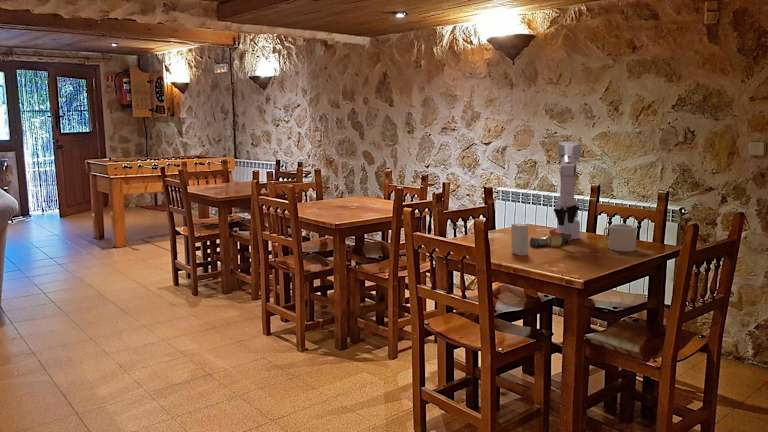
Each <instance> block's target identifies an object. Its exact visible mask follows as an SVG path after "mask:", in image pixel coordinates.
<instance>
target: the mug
mask: <svg viewBox="0 0 768 432" xmlns="http://www.w3.org/2000/svg"><path fill="white" fill-rule="evenodd" d="M606 230H608V241H607V240H606ZM637 231H638V227H637V225H636V226H635V225H633V224H626V223H614V224H610V225H609V226H608V227H604V228H603V238H602V241H603V242H604V243H606V244H608V247H607V248H608V249H609V250H611V251H614V250H615V252H622V253H623V252H624V253H625V252H627V253H630V252H634V251H635V250H636V247H637V246H636V244H637Z"/></svg>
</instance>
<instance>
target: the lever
mask: <svg viewBox="0 0 768 432" xmlns="http://www.w3.org/2000/svg"><path fill="white" fill-rule="evenodd" d="M548 230H549V233H548V234H551V235H556V236H560V237H563V238H566V239H570V238H571V233H567V232H559V231H558V230H557V229H555V228H549V229H548Z"/></svg>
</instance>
